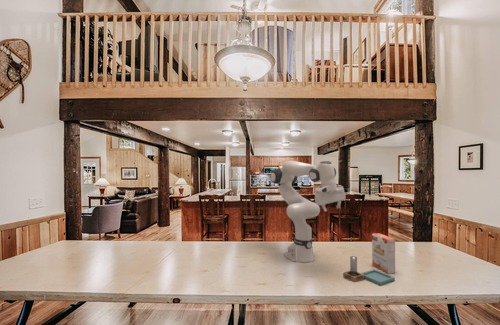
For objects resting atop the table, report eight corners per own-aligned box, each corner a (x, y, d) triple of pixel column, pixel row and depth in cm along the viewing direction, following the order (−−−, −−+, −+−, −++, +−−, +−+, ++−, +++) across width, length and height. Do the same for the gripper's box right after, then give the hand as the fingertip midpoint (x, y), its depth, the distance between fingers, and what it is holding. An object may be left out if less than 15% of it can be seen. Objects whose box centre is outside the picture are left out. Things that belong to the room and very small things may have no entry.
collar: (343, 276, 151) (343, 272, 151) (352, 274, 155) (352, 270, 155) (354, 282, 144) (354, 277, 144) (364, 279, 148) (364, 274, 148)
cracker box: (371, 265, 169) (371, 233, 169) (379, 264, 170) (379, 232, 170) (387, 274, 155) (386, 239, 155) (395, 273, 156) (395, 238, 156)
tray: (359, 276, 151) (359, 273, 151) (374, 272, 157) (374, 269, 157) (380, 285, 140) (380, 282, 140) (394, 280, 146) (394, 277, 146)
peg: (349, 277, 150) (348, 256, 150) (353, 276, 152) (353, 255, 152) (354, 280, 147) (354, 258, 147) (358, 278, 149) (358, 257, 149)
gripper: (339, 184, 165) (342, 205, 165) (312, 189, 158) (315, 212, 158) (346, 184, 159) (349, 207, 159) (318, 190, 152) (321, 213, 152)
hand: (332, 209), depth 159 cm, fingers open, 8 cm apart
